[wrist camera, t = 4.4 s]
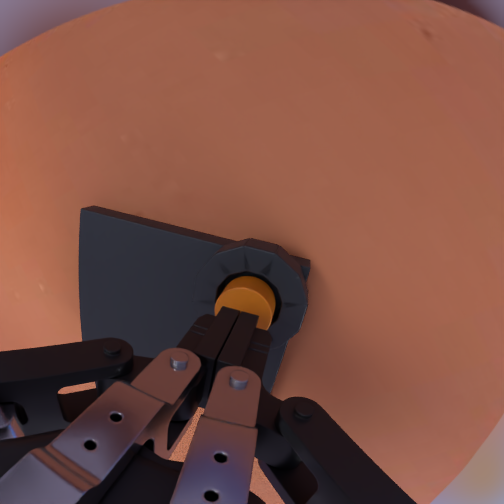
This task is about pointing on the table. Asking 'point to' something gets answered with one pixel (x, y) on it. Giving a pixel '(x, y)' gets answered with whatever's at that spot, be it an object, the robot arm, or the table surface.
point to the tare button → (249, 299)
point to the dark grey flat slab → (176, 282)
